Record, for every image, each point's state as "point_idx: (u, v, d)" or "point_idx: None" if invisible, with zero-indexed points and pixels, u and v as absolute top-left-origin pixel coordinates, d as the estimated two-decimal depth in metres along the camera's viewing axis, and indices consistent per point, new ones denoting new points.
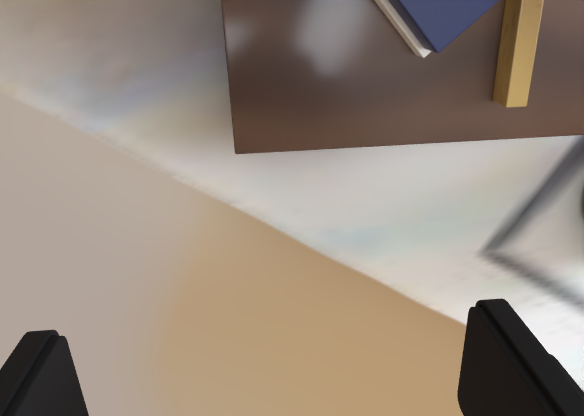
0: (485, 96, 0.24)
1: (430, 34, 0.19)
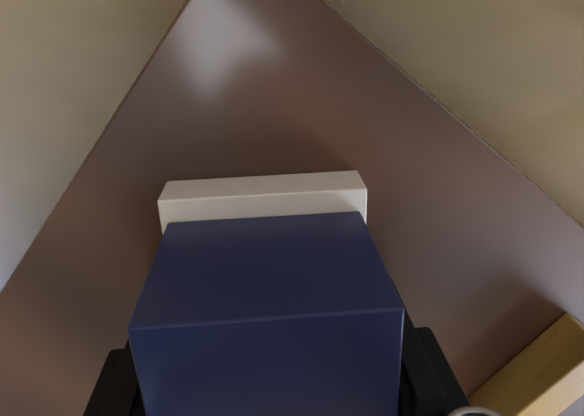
0: None
1: None
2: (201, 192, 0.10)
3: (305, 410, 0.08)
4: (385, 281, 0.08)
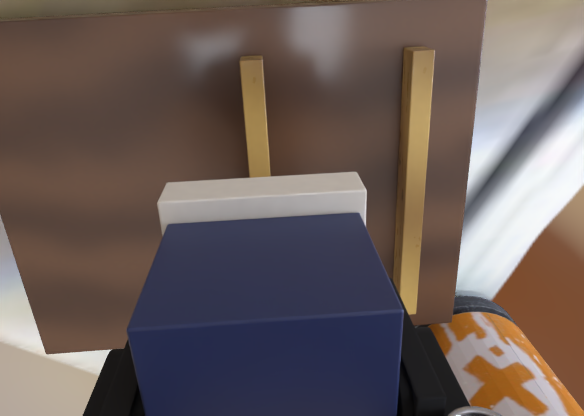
0: None
1: None
2: (201, 194, 0.11)
3: (305, 411, 0.08)
4: (385, 282, 0.08)
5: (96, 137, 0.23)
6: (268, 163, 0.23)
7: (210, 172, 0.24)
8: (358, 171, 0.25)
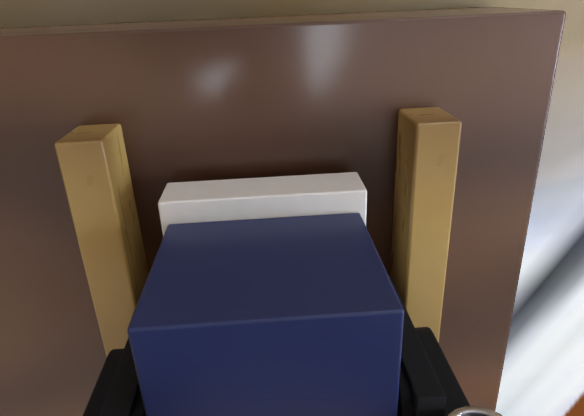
0: None
1: None
2: (201, 194, 0.11)
3: (306, 412, 0.08)
4: (385, 282, 0.08)
5: None
6: None
7: (47, 324, 0.13)
8: None
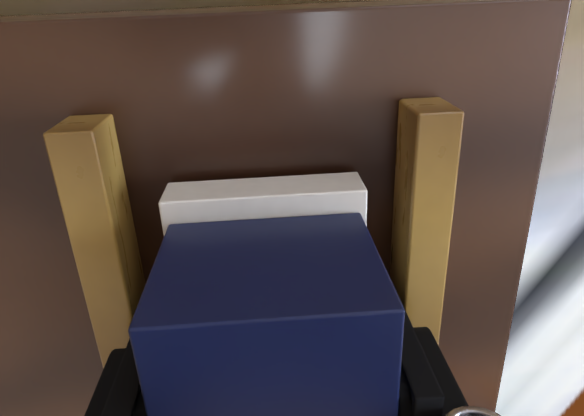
0: None
1: None
2: (202, 193, 0.11)
3: (306, 411, 0.08)
4: (385, 282, 0.08)
5: None
6: None
7: (39, 320, 0.13)
8: None
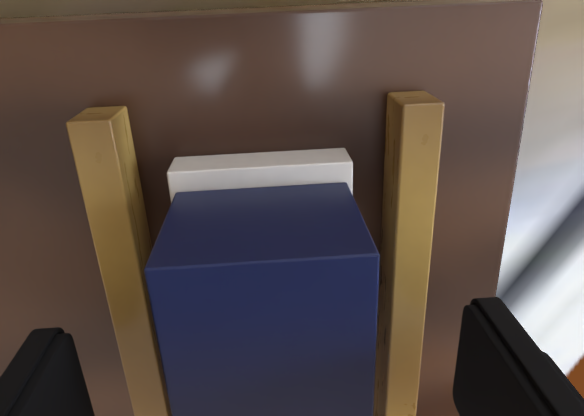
0: None
1: None
2: (205, 165, 0.12)
3: (297, 346, 0.09)
4: (365, 234, 0.09)
5: None
6: (142, 297, 0.13)
7: (57, 297, 0.14)
8: None
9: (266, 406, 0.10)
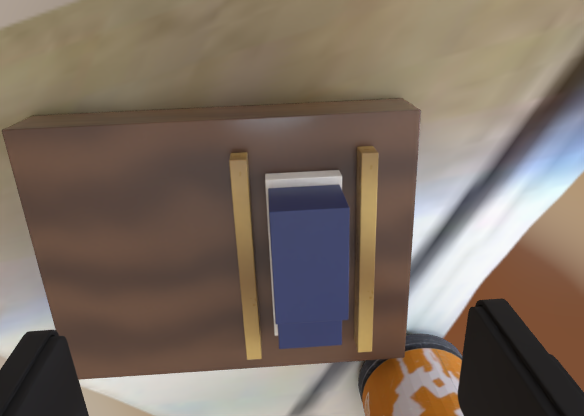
0: (242, 343, 0.34)
1: (281, 338, 0.30)
2: (280, 177, 0.28)
3: (320, 242, 0.26)
4: (345, 202, 0.26)
5: (117, 211, 0.29)
6: (251, 234, 0.29)
7: (206, 238, 0.30)
8: None
9: (308, 268, 0.26)
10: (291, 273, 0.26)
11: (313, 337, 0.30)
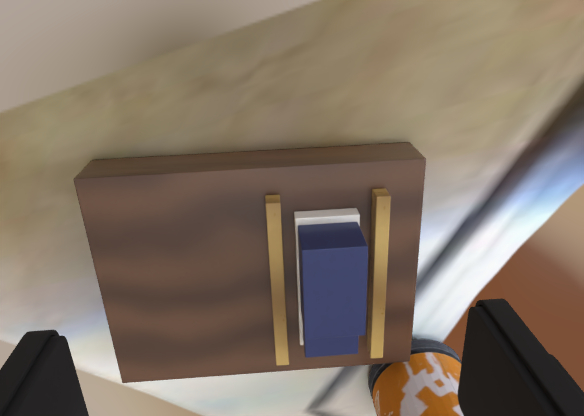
0: (271, 350, 0.39)
1: (307, 349, 0.36)
2: (307, 215, 0.33)
3: (343, 274, 0.31)
4: (364, 240, 0.31)
5: (168, 243, 0.35)
6: (282, 263, 0.34)
7: (242, 264, 0.36)
8: None
9: (333, 294, 0.32)
10: (318, 298, 0.32)
11: (334, 348, 0.36)
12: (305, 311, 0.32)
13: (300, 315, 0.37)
